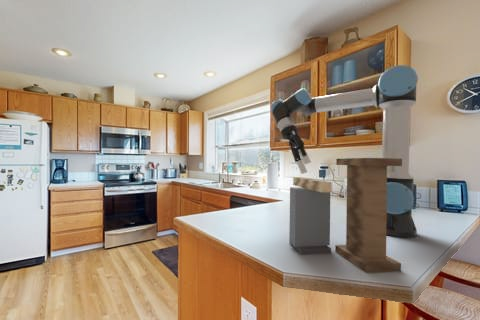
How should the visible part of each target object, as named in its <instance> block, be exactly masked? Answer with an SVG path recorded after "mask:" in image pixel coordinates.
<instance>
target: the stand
mask: <svg viewBox="0 0 480 320" xmlns="http://www.w3.org/2000/svg"><path fill="white" fill-rule="evenodd" d="M335 163H336V164H335V165H337V166H346V227H345V230H346V231H345V233H346V235H345V242H346V243H345V244H335V247H334V248H335V250H334V251H335V253H338V254H339V255H340V256H342V257H344V259H346V260H347V261H349V262H350V263H352V264H354V265H355V266H356V267H357V268H359V269H361V270H362V271H364V272H365V273H367V274H372V273H388V272H391V273H392V272H402V263H401V262H399V261H397V260H396V259H393V258H392V257H390V256H388V255H387V235H386V214H387V166H402V159H395V158H382V157H353V158H350V157H349V158H336V161H335Z"/></svg>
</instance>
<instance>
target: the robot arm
mask: <svg viewBox="0 0 480 320" xmlns="http://www.w3.org/2000/svg"><path fill="white" fill-rule="evenodd" d="M418 78H419V77H418V74H417V72H416V70H415V69H414V68H413V67H411V66H408V65H406V64H404V65H403V64H399V65H394V66H391V67H389V68H387V69H386V70H385V71H383V73H382V74H381V75H380V77H379V79H378V83H377V84H376V85H374V86H373V87H372V88H371V87H370V88H366V89H360V90H353V91H348V92H347V91H346V92H342V93H341V92H339V93H335V94H330V95H329V94H327V95H324V96H316V97H312V96H311V94H310V92H309V91H308V89H306V88H303V87H302V88H300V89H299V90H297V91H296V92H295V93H293V94H292V95H290V96H289V97H288V98H286V99H285V100H283V99H277V100H274V101H273V102H272V103H271V104H270V111H271V113H272V114H271V115H272V116H273V119H274V120H275V122H276V125H277V126H276V128H277V129H279V131H280V133H281V137H282V138H283V140H285V141H287V140H288V145H289V148H290V150H291V153H292V156H293V159H294V163H296V164H297V166H298V169H299V171H300V173H301V174H302V175H304V174H306V173H308V170H307V168H306V166H305V165H307V164H310V163H312V161H311V159H310V157H309V154H308V152H307V151H306V149H305V143H304V141H303V139H301V137H300V135H299V130H298V128H297V126H296V124H295V122H294V120H293V118H292V115H293V114H295V113H297V111H299V112H300V113H302V114H304V115H308V116H311V115H313V114H316V113H323V112H332V111H338V110H348V109H355V108H363V107H370V106H371V107H372V106H374V107H376V108H380V109H381V110H382V111H383V112H382V140H381V141H382V142H381V143H382V144H381V146H382V147H381V158H395V159H402V166H387V214H386V236H392V237H396V238H397V237H399V238H415V237H417V236H418V235H417V234H418V231H417V230H418V229H417V227H416V225H415V222H414V218H413V216H412V214H413V213H412V211H413V210H412V209H413V208H412V207H413V205H414V204H415V203H414V202H415V197H414V178H415V177H413V176H412V175H411V174H410V173H409V172H410V171H409V169H410V141H411V140H410V137H411V135H410V133H411V109H412V107H413V106H414V105H416V103H417V83H418V80H419V79H418Z"/></svg>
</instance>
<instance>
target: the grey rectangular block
mask: <svg viewBox="0 0 480 320" xmlns="http://www.w3.org/2000/svg"><path fill="white" fill-rule="evenodd" d="M288 232H289V239H288V241H289V244H290V246H292V248H294V249H295V251H297V252H298V253H299V254H300V255H318V254H319V255H320V254H332V248H331V247H330V246H331V192H318V191H314V190H311V189H307V188H303V187H299V186H295V187H292V186H291V187H289V231H288Z"/></svg>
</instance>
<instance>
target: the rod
mask: <svg viewBox="0 0 480 320" xmlns="http://www.w3.org/2000/svg"><path fill="white" fill-rule="evenodd" d="M292 182H293V183H292V185H293V186H295V187H303V188H307V189H311V190H314V191H318V192H330V193H332V188H333V187H332V184H333V183H332V181H327V180H320V179H314V178H308V177H300V176H299V177H297V176H293V179H292Z"/></svg>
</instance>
